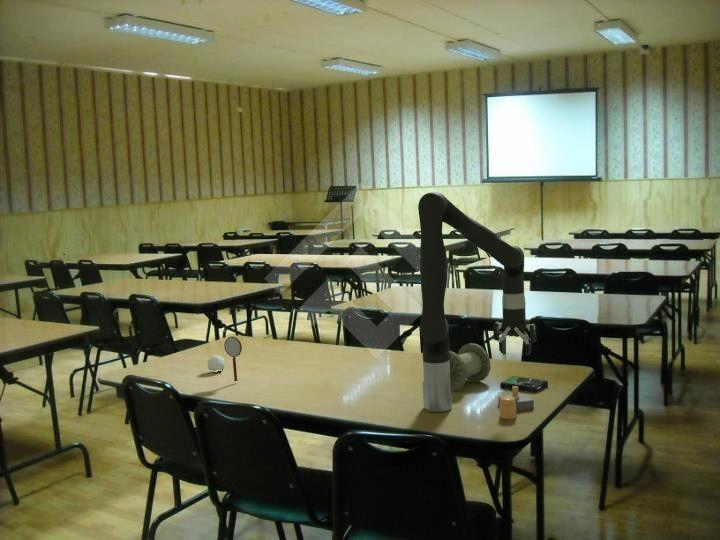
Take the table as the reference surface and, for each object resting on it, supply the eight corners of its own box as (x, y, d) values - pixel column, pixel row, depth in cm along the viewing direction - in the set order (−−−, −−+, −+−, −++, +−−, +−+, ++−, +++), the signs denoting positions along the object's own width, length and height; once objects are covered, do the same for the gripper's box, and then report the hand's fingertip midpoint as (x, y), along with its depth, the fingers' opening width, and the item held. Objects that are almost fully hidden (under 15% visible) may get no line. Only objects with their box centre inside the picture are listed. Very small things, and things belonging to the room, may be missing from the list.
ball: (220, 378, 333) (223, 366, 328) (203, 373, 333) (205, 361, 328) (226, 366, 339) (228, 354, 334) (209, 361, 339) (211, 349, 334)
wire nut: (504, 419, 244) (503, 402, 243) (497, 415, 249) (497, 398, 248) (518, 417, 245) (517, 400, 244) (511, 413, 250) (511, 396, 249)
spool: (460, 378, 299) (458, 341, 297) (491, 383, 288) (489, 345, 286) (433, 387, 287) (431, 349, 286) (465, 393, 277) (463, 354, 275)
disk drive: (548, 387, 280) (513, 382, 289) (548, 380, 279) (512, 375, 289) (535, 394, 272) (499, 388, 281) (535, 387, 271) (499, 381, 281)
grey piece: (509, 411, 252) (508, 391, 251) (498, 404, 261) (497, 385, 260) (533, 408, 254) (533, 388, 253) (522, 401, 263) (521, 382, 262)
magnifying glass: (245, 383, 311) (241, 336, 308) (243, 384, 309) (239, 337, 307) (229, 382, 315) (225, 335, 313) (226, 383, 313) (222, 336, 311)
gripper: (489, 307, 248) (490, 354, 250) (530, 309, 241) (532, 358, 243) (497, 303, 255) (498, 349, 257) (538, 305, 247) (539, 353, 249)
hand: (515, 353), depth 250 cm, fingers open, 8 cm apart
